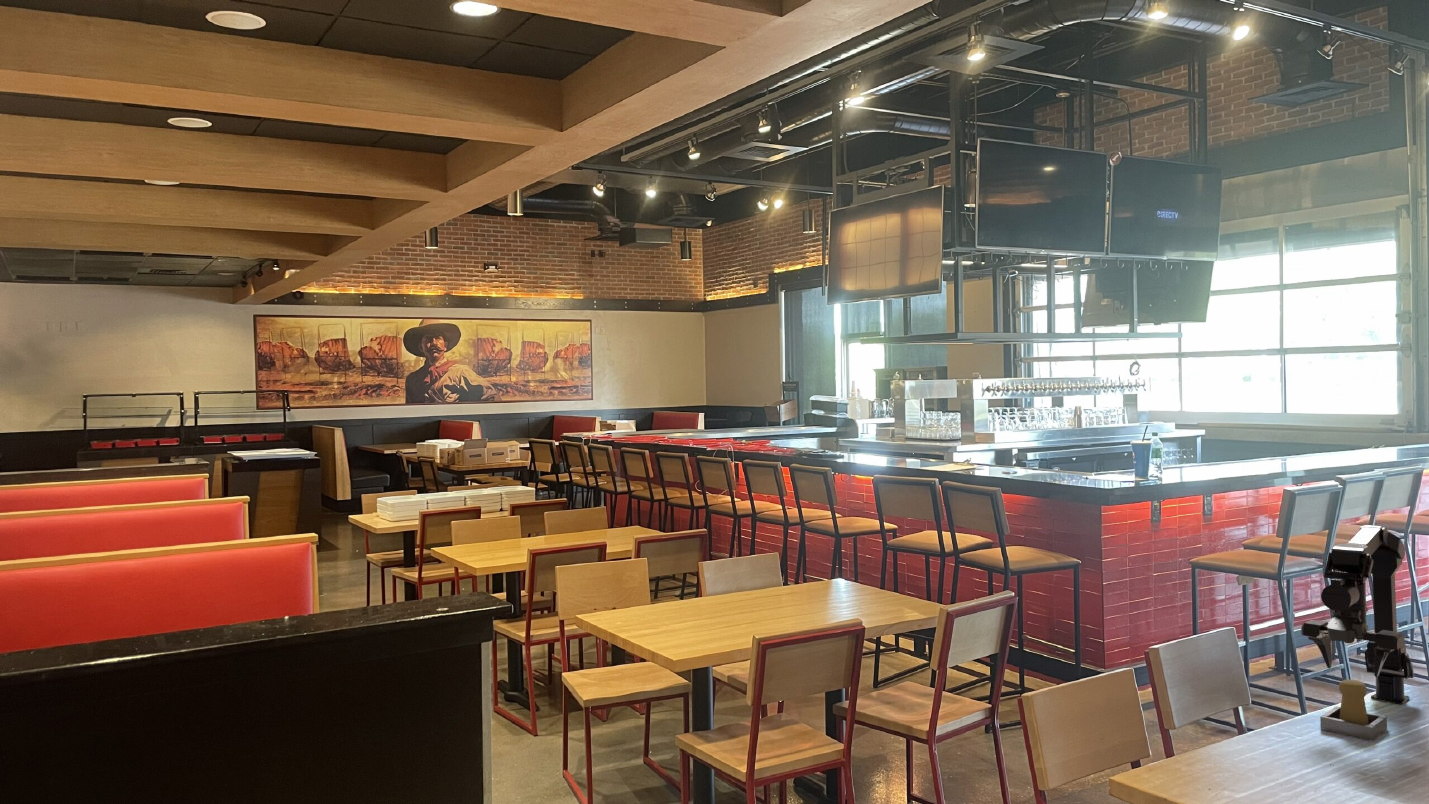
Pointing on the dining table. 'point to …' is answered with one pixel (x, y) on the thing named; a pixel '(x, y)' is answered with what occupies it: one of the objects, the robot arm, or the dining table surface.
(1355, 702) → the cork
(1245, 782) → the dining table surface
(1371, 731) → the socket frame
